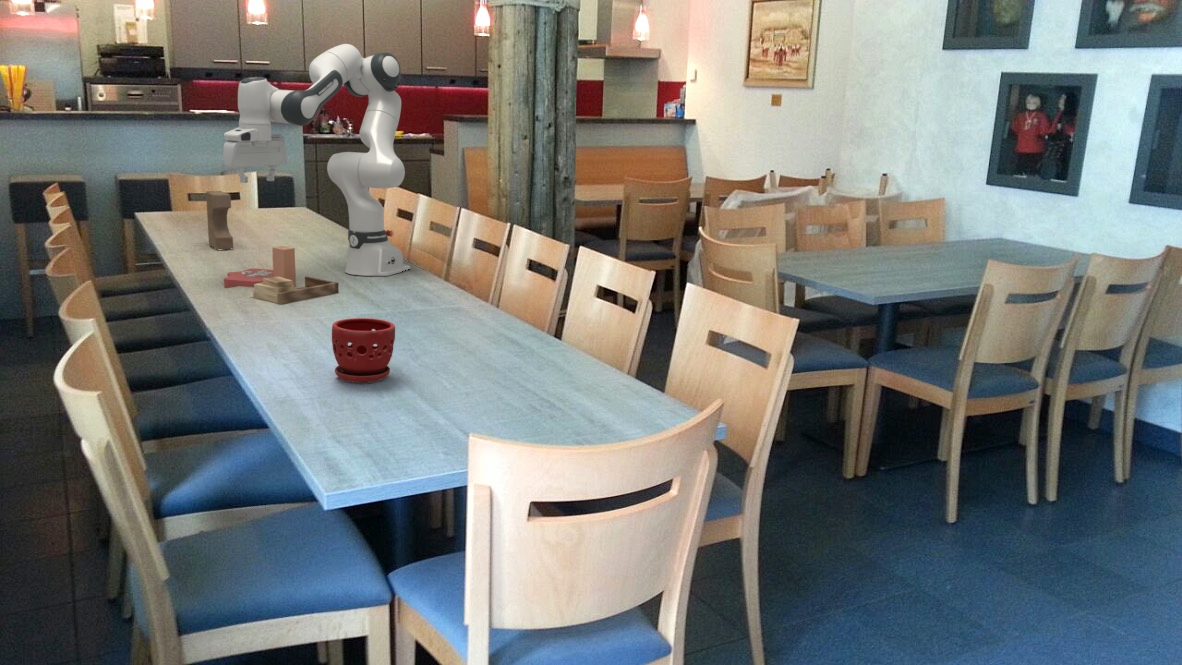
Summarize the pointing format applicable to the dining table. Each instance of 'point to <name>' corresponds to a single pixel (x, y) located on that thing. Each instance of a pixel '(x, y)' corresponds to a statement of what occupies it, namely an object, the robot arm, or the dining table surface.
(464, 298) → the dining table surface
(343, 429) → the dining table surface
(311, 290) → the brown wooden tray
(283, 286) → the offcut stack
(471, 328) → the dining table surface
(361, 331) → the plant pot
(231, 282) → the plaque
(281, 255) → the salmon orange upright block
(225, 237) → the decorative block
